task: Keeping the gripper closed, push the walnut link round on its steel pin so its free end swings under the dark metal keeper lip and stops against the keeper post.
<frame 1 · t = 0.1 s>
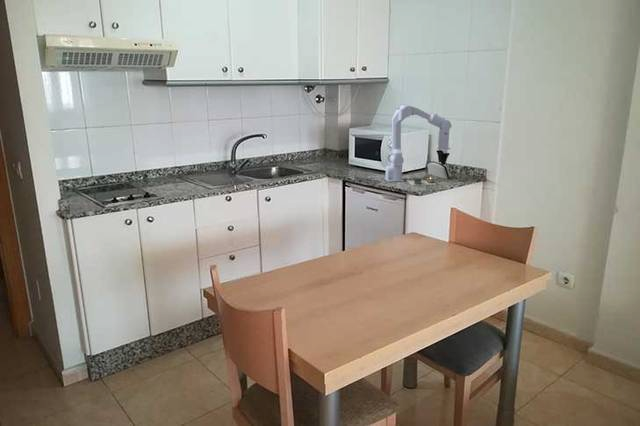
hand: (441, 163, 288), 10 cm above the table, tool pointing down, fingers open, 7 cm apart
link: (428, 179, 284), point 2 cm above the table, hinge at 0.0°
base board: (421, 183, 282), on the table
keeper: (416, 184, 278), resting on base board
pin: (430, 183, 280), resting on base board
hinge: (438, 176, 302), on the table
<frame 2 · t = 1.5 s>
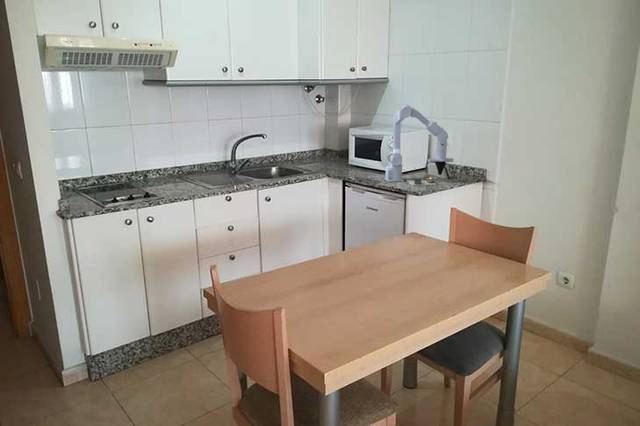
hand: (439, 174, 284), 4 cm above the table, tool pointing down, fingers closed
nothing on the table moved.
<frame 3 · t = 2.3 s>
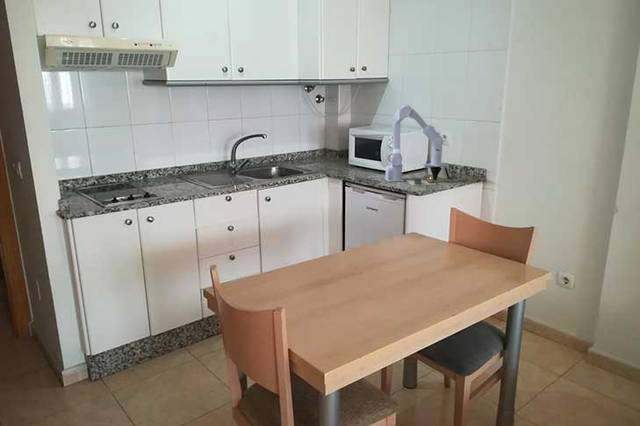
hand: (434, 179, 284), 1 cm above the table, tool pointing down, fingers closed
nothing on the table moved.
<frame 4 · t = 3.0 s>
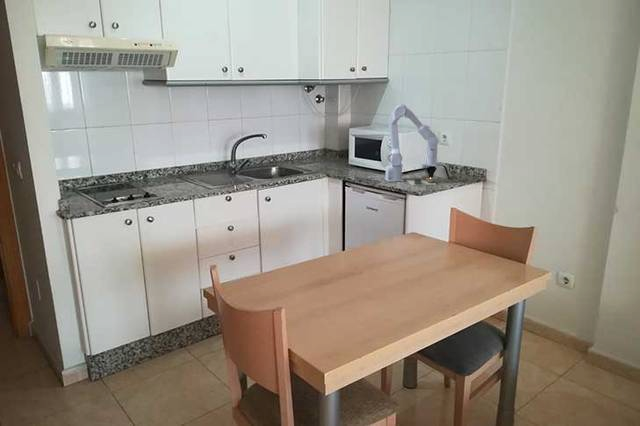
hand: (430, 179, 285), 2 cm above the table, tool pointing down, fingers closed, pressing on link
link: (428, 179, 284), point 2 cm above the table, hinge at 5.8°, touching gripper
everything else where it was.
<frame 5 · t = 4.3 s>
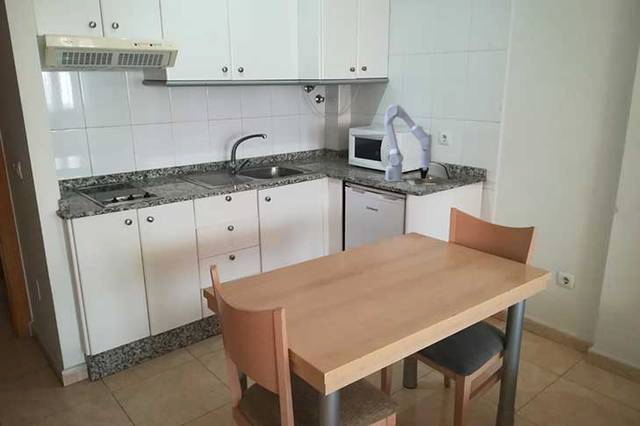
hand: (423, 180, 283), 1 cm above the table, tool pointing down, fingers closed, pressing on link
link: (423, 180, 281), point 2 cm above the table, hinge at 62.9°, touching gripper
everything else where it was.
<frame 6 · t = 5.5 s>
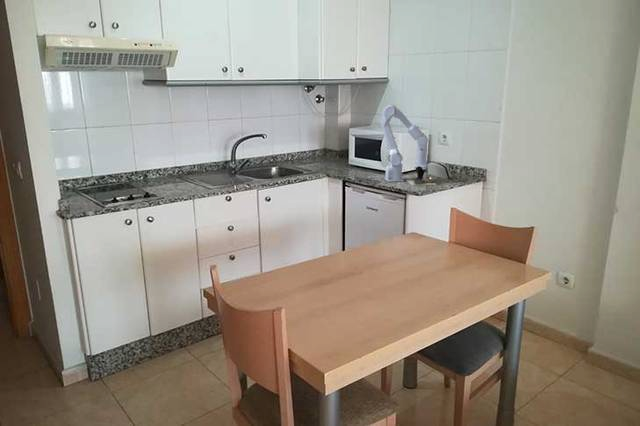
hand: (420, 179, 285), 1 cm above the table, tool pointing down, fingers closed
link: (424, 181, 279), point 2 cm above the table, hinge at 87.3°
everything else where it was.
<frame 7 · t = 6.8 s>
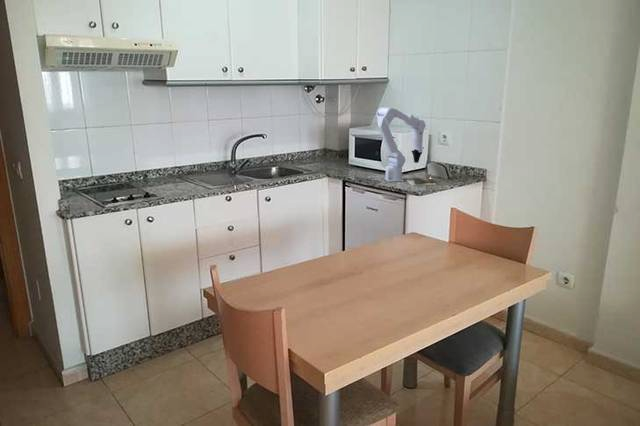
hand: (416, 162, 293), 9 cm above the table, tool pointing down, fingers closed
nothing on the table moved.
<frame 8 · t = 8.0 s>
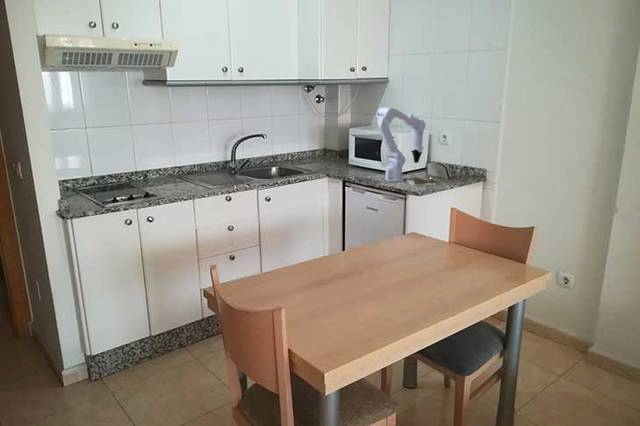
hand: (416, 162, 293), 9 cm above the table, tool pointing down, fingers closed
nothing on the table moved.
at the end: link at +87° (first picture: +0°); hinge moved 0.7 cm from its start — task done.
